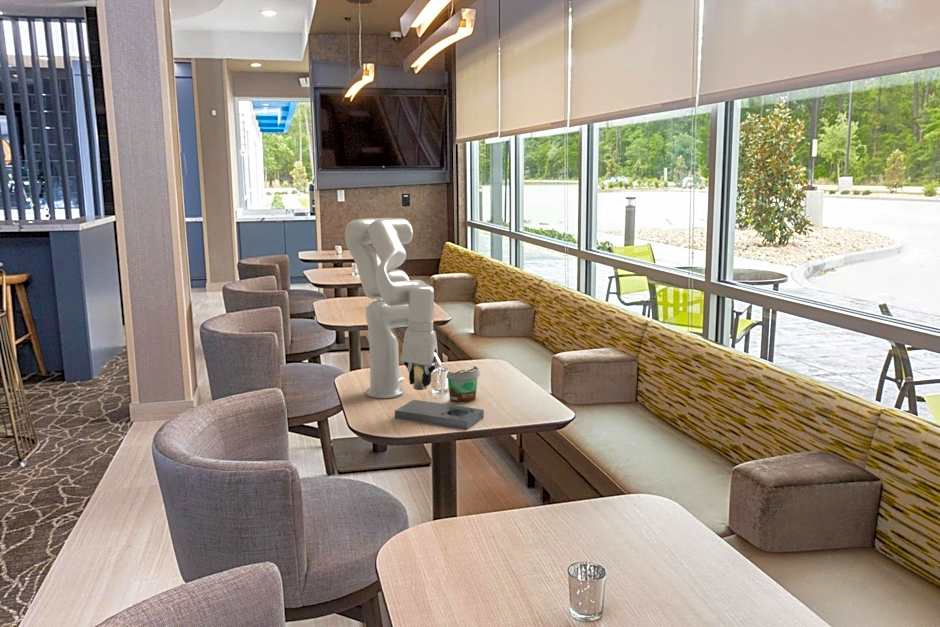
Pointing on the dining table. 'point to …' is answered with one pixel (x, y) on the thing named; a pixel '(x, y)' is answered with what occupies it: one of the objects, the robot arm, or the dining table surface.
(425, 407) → the jig plate
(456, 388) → the food container
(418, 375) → the brass sleeve
